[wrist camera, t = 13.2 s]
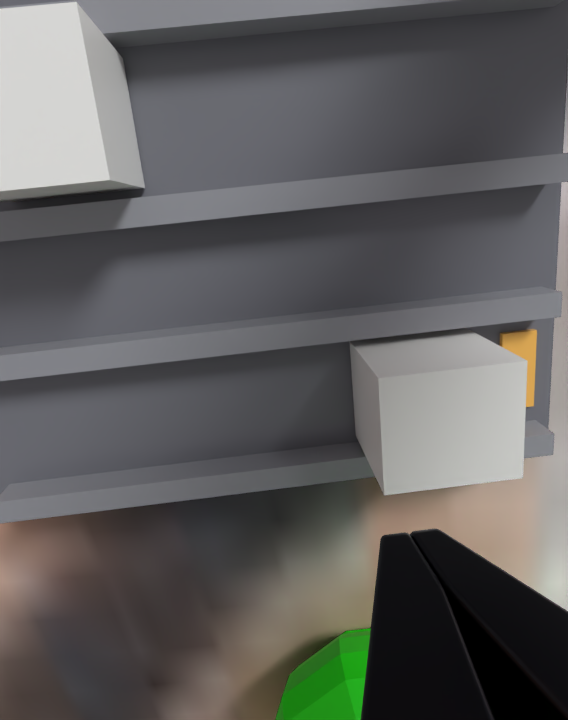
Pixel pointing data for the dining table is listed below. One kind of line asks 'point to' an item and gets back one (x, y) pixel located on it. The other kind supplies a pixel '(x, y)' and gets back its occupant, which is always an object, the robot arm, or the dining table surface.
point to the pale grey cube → (439, 409)
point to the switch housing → (279, 242)
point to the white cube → (62, 107)
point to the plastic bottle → (329, 681)
